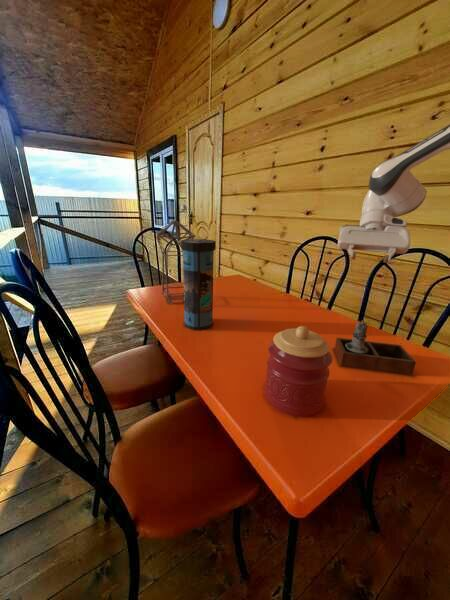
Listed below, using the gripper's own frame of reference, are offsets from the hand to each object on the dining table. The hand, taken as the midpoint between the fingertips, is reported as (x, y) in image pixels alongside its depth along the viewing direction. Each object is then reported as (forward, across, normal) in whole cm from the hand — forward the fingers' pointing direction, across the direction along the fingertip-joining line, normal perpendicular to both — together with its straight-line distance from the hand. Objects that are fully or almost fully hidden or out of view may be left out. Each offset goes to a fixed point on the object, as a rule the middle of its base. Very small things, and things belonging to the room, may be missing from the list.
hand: (369, 260), depth 79 cm
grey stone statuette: (+31, 0, +6) cm, 31 cm away
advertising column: (+32, -51, +6) cm, 60 cm away
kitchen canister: (+48, -13, -10) cm, 51 cm away
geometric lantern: (+19, -72, +18) cm, 77 cm away
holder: (+31, +4, +7) cm, 32 cm away
